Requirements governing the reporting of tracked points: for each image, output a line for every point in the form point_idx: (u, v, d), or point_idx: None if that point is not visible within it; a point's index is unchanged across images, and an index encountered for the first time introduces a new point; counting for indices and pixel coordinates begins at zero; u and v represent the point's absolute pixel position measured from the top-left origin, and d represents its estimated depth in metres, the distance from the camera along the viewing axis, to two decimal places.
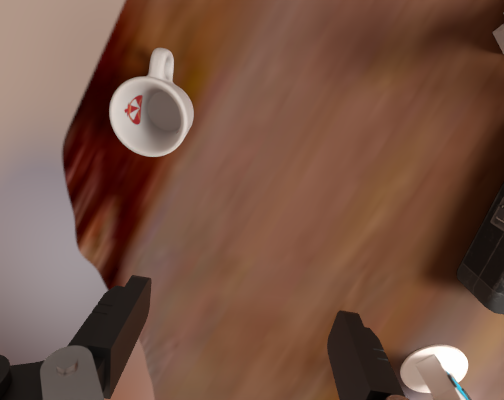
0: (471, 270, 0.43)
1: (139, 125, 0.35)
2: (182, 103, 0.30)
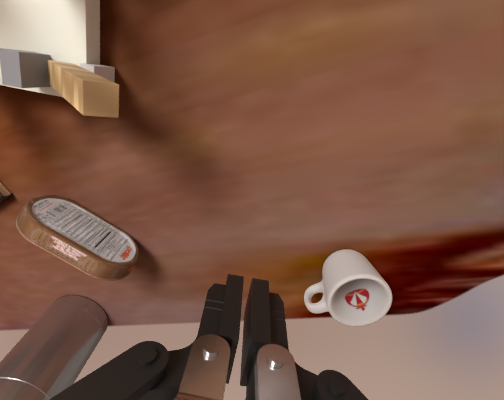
0: None
1: (368, 290, 0.42)
2: (333, 288, 0.37)
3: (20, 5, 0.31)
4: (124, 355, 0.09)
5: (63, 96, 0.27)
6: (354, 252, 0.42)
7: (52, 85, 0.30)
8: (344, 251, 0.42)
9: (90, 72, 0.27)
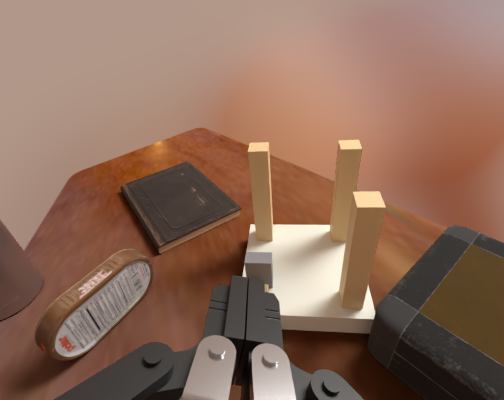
0: None
1: None
2: None
3: (304, 271, 0.41)
4: (130, 356, 0.09)
5: None
6: None
7: None
8: None
9: None
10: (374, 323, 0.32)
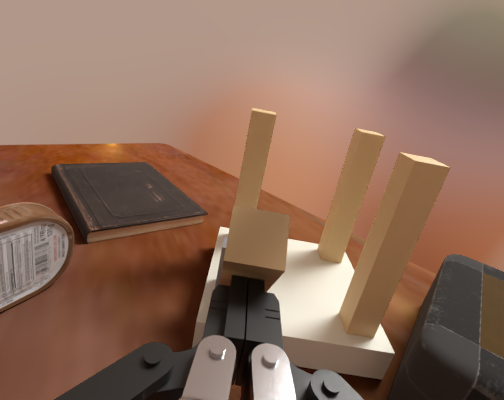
0: None
1: None
2: None
3: (290, 285, 0.30)
4: (130, 356, 0.09)
5: None
6: None
7: None
8: None
9: None
10: (418, 368, 0.20)
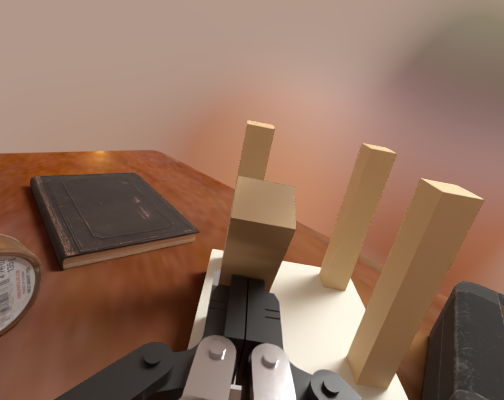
0: None
1: None
2: None
3: (291, 321, 0.27)
4: (130, 356, 0.09)
5: None
6: None
7: None
8: None
9: None
10: None
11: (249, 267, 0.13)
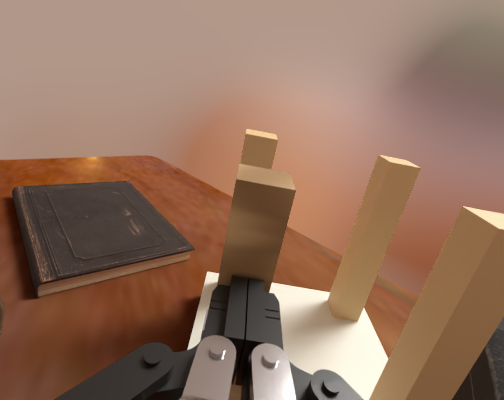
0: None
1: None
2: None
3: (297, 364, 0.23)
4: (130, 356, 0.09)
5: None
6: None
7: None
8: None
9: None
10: None
11: (252, 246, 0.13)
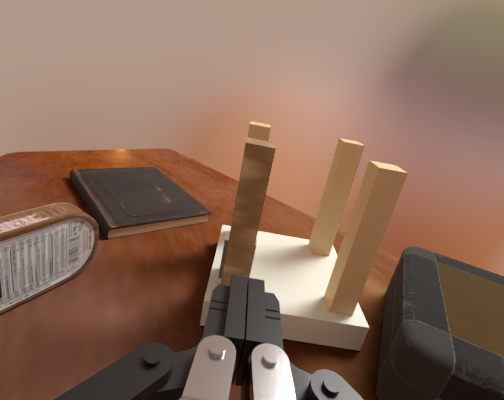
0: None
1: None
2: None
3: (284, 273, 0.35)
4: (131, 356, 0.09)
5: None
6: None
7: None
8: None
9: (258, 224, 0.27)
10: (404, 362, 0.23)
11: (253, 179, 0.25)
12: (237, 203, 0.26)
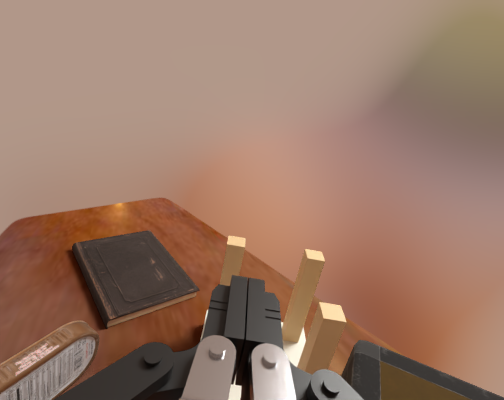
0: None
1: None
2: None
3: None
4: (130, 356, 0.09)
5: None
6: None
7: None
8: None
9: None
10: None
11: None
12: None
